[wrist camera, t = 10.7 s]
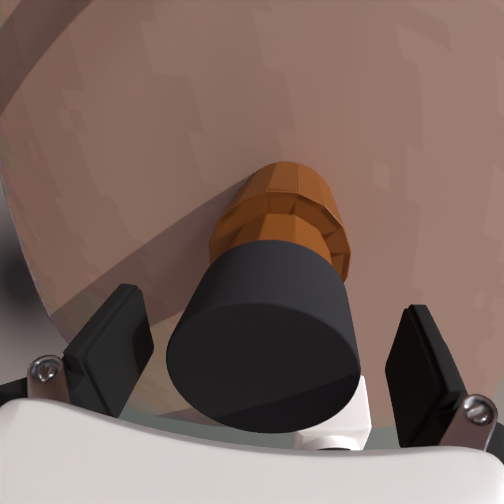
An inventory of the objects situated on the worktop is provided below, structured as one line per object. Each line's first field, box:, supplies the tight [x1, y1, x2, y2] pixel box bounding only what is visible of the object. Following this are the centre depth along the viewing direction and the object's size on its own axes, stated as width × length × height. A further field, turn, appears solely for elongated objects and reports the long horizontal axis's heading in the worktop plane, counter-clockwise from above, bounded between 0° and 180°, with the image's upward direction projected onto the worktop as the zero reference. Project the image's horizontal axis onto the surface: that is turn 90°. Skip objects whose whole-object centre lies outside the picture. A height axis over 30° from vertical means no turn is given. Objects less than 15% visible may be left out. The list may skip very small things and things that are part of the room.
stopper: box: [166, 240, 361, 433], centre depth 12 cm, size 6×6×8 cm
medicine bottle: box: [293, 376, 371, 450], centre depth 27 cm, size 7×7×12 cm
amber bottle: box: [209, 162, 351, 283], centre depth 18 cm, size 7×7×13 cm
